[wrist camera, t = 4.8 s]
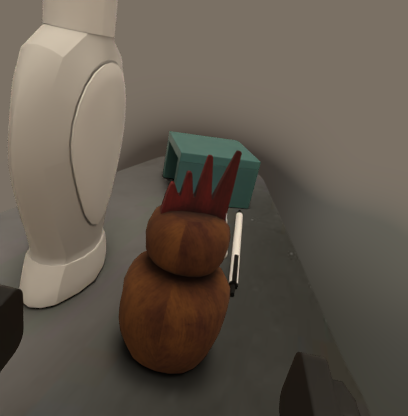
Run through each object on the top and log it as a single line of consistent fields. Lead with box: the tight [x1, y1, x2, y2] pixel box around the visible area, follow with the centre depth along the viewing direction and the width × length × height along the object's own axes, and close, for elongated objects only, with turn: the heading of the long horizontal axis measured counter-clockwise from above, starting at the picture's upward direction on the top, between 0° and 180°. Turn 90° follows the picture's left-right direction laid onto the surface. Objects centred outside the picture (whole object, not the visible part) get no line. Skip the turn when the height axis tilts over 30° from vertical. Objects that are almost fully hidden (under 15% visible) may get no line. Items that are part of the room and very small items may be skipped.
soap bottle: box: [8, 0, 126, 308], centre depth 26 cm, size 13×8×24 cm, turn 167°
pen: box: [228, 210, 243, 296], centre depth 41 cm, size 1×19×1 cm, turn 173°
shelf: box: [163, 131, 261, 208], centre depth 53 cm, size 11×10×7 cm
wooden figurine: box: [119, 150, 242, 374], centre depth 23 cm, size 7×6×15 cm
